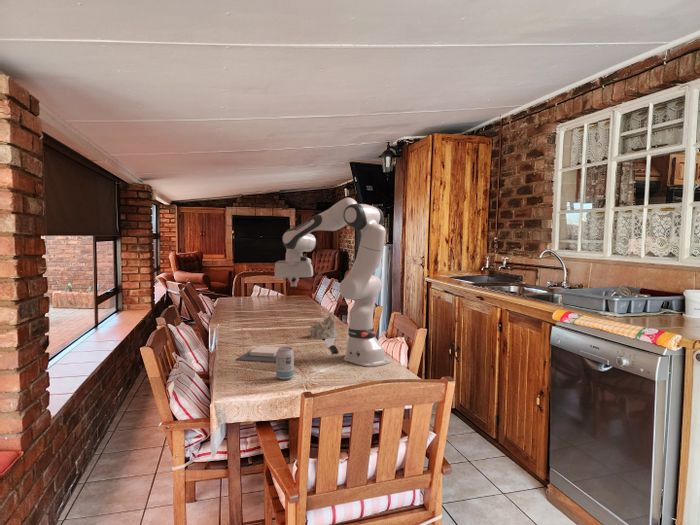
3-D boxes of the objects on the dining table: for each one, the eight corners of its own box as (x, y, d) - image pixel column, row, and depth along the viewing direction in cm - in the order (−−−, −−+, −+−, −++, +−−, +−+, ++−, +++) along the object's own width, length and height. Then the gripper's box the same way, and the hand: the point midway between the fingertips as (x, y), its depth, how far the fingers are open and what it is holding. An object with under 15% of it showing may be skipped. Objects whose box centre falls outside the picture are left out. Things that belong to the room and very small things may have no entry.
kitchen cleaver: (317, 338, 244) (334, 336, 245) (317, 341, 244) (335, 339, 245) (321, 353, 213) (341, 350, 214) (321, 357, 213) (341, 354, 214)
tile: (258, 346, 218) (249, 351, 207) (282, 347, 216) (273, 353, 205) (259, 350, 218) (249, 356, 207) (282, 351, 216) (274, 357, 205)
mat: (250, 351, 218) (250, 350, 218) (289, 353, 214) (289, 352, 214) (236, 360, 202) (235, 359, 202) (277, 363, 198) (277, 361, 198)
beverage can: (294, 375, 181) (294, 346, 180) (292, 381, 174) (292, 350, 173) (277, 375, 180) (277, 346, 180) (275, 381, 174) (275, 351, 173)
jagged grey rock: (339, 333, 260) (337, 307, 259) (336, 340, 244) (334, 313, 243) (313, 334, 262) (311, 309, 260) (308, 341, 246) (306, 315, 244)
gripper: (273, 259, 230) (272, 286, 227) (311, 257, 227) (311, 284, 224) (277, 262, 236) (276, 287, 233) (314, 260, 233) (314, 286, 230)
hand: (293, 286), depth 229 cm, fingers closed
